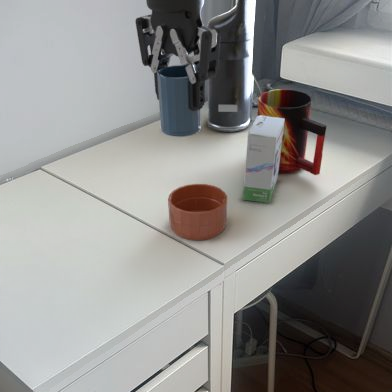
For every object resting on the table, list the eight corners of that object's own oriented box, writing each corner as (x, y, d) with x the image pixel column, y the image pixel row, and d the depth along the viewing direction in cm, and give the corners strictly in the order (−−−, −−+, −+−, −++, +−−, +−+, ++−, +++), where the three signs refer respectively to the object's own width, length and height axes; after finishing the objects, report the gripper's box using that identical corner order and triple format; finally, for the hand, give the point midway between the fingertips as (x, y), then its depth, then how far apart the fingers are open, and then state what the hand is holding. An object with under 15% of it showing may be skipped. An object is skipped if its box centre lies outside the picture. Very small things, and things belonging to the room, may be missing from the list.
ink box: (251, 178, 95) (255, 113, 87) (278, 181, 94) (285, 116, 86) (241, 200, 89) (245, 133, 81) (270, 204, 88) (277, 136, 80)
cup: (180, 118, 80) (177, 62, 74) (208, 127, 77) (208, 70, 71) (153, 130, 77) (148, 72, 71) (181, 140, 74) (178, 81, 68)
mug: (317, 181, 94) (327, 115, 85) (247, 168, 98) (250, 104, 89) (330, 160, 100) (341, 96, 91) (264, 149, 104) (268, 86, 96)
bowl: (196, 205, 89) (195, 178, 85) (237, 223, 84) (239, 195, 81) (158, 227, 84) (155, 199, 80) (200, 247, 79) (200, 219, 76)
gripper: (237, -37, 61) (233, 108, 73) (154, -47, 68) (163, 87, 80) (196, -28, 57) (198, 123, 69) (112, -39, 64) (128, 100, 76)
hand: (179, 103), depth 74 cm, fingers closed on cup, 6 cm apart
